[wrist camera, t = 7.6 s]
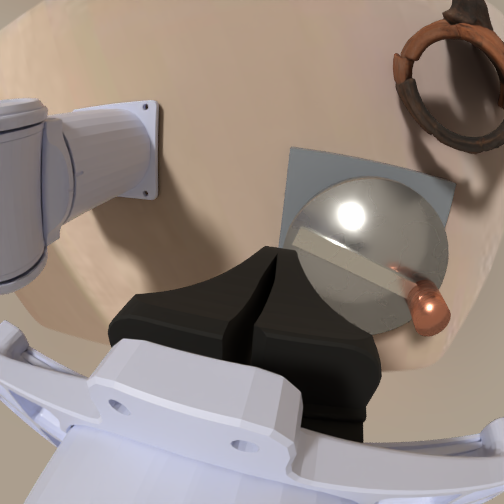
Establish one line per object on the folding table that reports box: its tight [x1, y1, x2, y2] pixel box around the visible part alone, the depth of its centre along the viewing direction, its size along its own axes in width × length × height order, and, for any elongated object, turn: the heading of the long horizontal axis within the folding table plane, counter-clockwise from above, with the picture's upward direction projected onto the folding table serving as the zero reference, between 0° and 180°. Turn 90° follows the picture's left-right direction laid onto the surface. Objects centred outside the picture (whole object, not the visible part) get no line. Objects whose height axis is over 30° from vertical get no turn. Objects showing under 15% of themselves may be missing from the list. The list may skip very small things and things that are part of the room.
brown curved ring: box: [393, 0, 504, 154], centre depth 11 cm, size 12×10×8 cm
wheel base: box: [278, 147, 456, 322], centre depth 20 cm, size 12×12×1 cm
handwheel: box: [283, 176, 451, 336], centre depth 17 cm, size 11×11×6 cm
